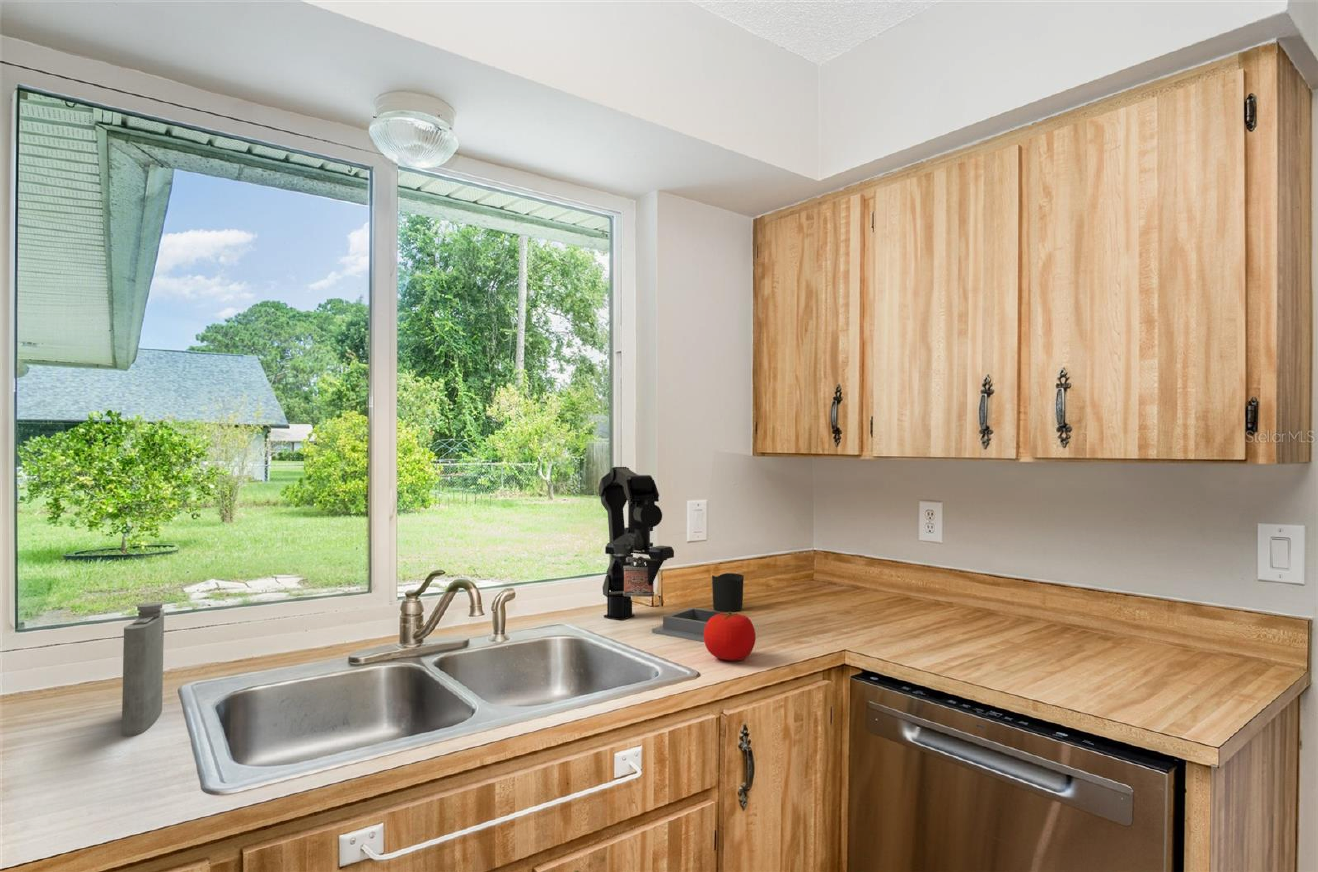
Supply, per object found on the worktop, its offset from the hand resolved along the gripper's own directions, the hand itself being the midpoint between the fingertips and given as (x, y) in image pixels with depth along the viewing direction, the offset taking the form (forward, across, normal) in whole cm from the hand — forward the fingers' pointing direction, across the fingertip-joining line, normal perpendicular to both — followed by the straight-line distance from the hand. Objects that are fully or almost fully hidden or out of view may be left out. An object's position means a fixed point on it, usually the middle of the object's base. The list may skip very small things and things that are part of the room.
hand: (638, 583), depth 185 cm
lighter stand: (+13, +12, +11) cm, 21 cm away
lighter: (+3, 0, 0) cm, 3 cm away
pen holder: (+13, +4, +38) cm, 40 cm away
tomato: (+13, +31, -6) cm, 34 cm away
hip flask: (+13, -32, -99) cm, 105 cm away
